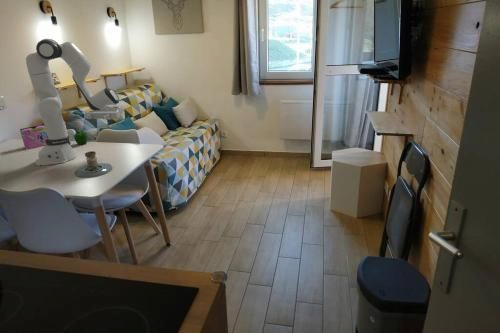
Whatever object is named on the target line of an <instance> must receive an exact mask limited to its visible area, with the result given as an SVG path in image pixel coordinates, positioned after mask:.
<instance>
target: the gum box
mask: <svg viewBox="0 0 500 333" xmlns="http://www.w3.org/2000/svg"><path fill="white" fill-rule="evenodd" d="M19 132H20V135H21V139H22V142H23V146H24V148H25V147H26V148H25V149H27V150H31V148H32V149H36V147H37V148H40V146H41V147H44V146H46V143H45V138H48V136H47V132H46V128H45V125H44V123H43V124H39V125H34V126H28V127H24V128H20V129H19Z"/></svg>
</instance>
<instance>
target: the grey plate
mask: <svg viewBox="0 0 500 333" xmlns="http://www.w3.org/2000/svg"><path fill="white" fill-rule="evenodd" d="M97 164H98V165H97V166H98V167H99V169H98V170H96V171H88V168H89V167H88V165H87V164H86V165H84V166H81V167H79V168H77V169H75V171H74V175H75V177H77V178H84V179H87V178H95V177H100V176H103V175H106V174H108V173H110V172H111V171H112V170H113V165H112V164H110V163H107V162H106V163H105V162H104V163H103V162H97Z"/></svg>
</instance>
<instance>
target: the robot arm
mask: <svg viewBox="0 0 500 333" xmlns="http://www.w3.org/2000/svg"><path fill="white" fill-rule="evenodd" d="M35 48H36V49H35V50H36V52H33V53H29V54H28V55H27V56H26V58H25V62H26V63H25V64H26V68H27V73H28V76H29V79H30V81H31V84H32V88H33V90H34V91H35V93H36V95H37V97H38V98H39V103H38V105H37V108H38V113H39V115H40V117H41V121H42V122H43V124H44V125H45V128H46V132H47V136H48V138H45V143H46V145H45V146H42V148H41V149H40V150H39V152H38V156H37V157H38V158H37V159H36V160H35V163H34V164H35V165H36V166H38V167H39V166H40V165H41V166H47V165H49V166H50V165H57V164H58V165H59V164H64V163H67V162H68V161H72V160H73V159H75V158H76V154H75V152H74V150H73V148H72V147H73V146H72V145H71V144H72V143H71V138H70V136H69V133H68V131H67V126H66V125H67V124H66V122H65V120H64V117H63V114H62V108H63V102H62V100H61V96H60V94H59V92H58V89H57V88H56V84H55V82H54V79H53V75H52V71H51V69H50V66H49V62H50V61H51V60H55V59H58V58H60V59H62V60H63V61H64V62H65V63H66V64H67V65H68V67H69V68H70V69H71V73H72V80H73V81H74V83H75V86H76V87H77V88H78V90H79V92H80V93H81V95H82V96H83V98H84V99H85V101H86V103H87V106H88V108H89V109H90V111H86V112H84V117H85V119H86V120H96V119H97V120H98V119H99V120H105V121H110V120H115V119H116V120H117V119H121V118H122V117H123V116H122V114H123V113H124V111H125V109H126V108H125V104H124V102H123V101H121V100H120V99H119V96H118V94H117V93H116V91H114V89H111V88H110V87H105V88H103V89H101V90H100V91H99V92H97V93H95V94H93V93H92V91H91V89H90V88H89V86H88V85H87V82H86V79H87V76H88V74H89V73H90V71H91V62H90V61H89V59H88V57H86V55H85V54H84V53H83V52H82V50H81V49H80V48H79V47H78V46H77V45H75V43H74V42H72V41H65V42H63V43H61V44H60V43H58V42H57V41H56V40H54V39H52V38H43V39H41V40H40V41H38V42H37V44H36V47H35Z"/></svg>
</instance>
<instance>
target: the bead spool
mask: <svg viewBox="0 0 500 333" xmlns="http://www.w3.org/2000/svg"><path fill="white" fill-rule="evenodd" d="M96 155H97V153H96V151H94V150H93V151H88V152H87V151H86V152H85V153H84V156H85V157H86V163H87V164H86V165H88V167H89V168H88V171H96V170H98V169H99V167H98V166H97V165H98V164H97V163H98V161H97V156H96Z"/></svg>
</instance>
